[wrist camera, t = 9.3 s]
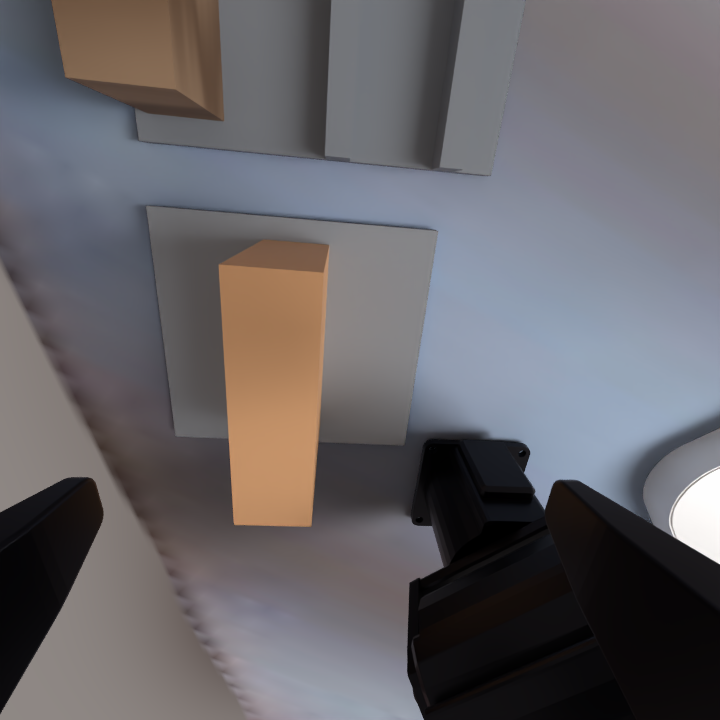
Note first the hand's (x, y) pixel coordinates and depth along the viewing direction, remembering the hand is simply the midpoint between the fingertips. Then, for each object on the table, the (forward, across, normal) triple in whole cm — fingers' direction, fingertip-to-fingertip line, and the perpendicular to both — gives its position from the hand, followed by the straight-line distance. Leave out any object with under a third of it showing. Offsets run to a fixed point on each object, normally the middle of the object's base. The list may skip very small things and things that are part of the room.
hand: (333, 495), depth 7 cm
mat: (+13, +2, +2) cm, 13 cm away
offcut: (+12, +6, -11) cm, 18 cm away
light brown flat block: (+12, +2, +2) cm, 13 cm away
